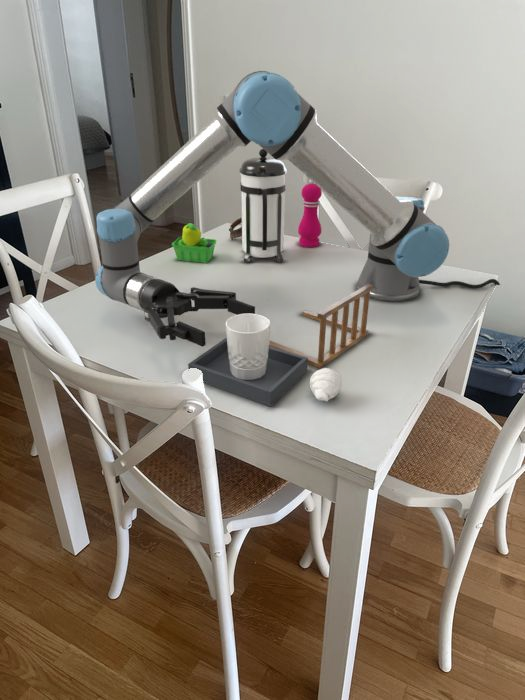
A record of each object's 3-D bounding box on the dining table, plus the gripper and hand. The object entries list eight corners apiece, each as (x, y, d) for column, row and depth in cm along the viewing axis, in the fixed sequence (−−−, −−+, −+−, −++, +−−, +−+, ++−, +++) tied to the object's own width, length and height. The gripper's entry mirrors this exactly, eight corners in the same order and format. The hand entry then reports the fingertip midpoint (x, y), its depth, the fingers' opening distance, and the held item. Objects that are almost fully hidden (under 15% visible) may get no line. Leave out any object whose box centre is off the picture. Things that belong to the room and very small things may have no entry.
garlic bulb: (305, 409, 91) (306, 382, 88) (310, 390, 96) (311, 364, 93) (337, 413, 90) (340, 386, 87) (340, 393, 95) (343, 367, 92)
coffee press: (224, 256, 157) (220, 148, 143) (264, 245, 167) (264, 142, 152) (264, 272, 146) (265, 157, 132) (304, 259, 156) (309, 150, 141)
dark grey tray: (307, 371, 101) (308, 357, 100) (270, 406, 91) (270, 392, 90) (230, 347, 109) (230, 334, 108) (188, 377, 99) (187, 363, 98)
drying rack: (305, 313, 124) (308, 266, 118) (368, 334, 115) (374, 285, 109) (254, 342, 111) (254, 292, 106) (319, 368, 102) (323, 315, 97)
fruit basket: (218, 256, 158) (216, 217, 152) (208, 266, 150) (206, 226, 145) (181, 253, 160) (178, 215, 155) (170, 263, 153) (167, 223, 147)
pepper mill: (324, 246, 166) (328, 180, 156) (302, 248, 164) (305, 181, 154) (315, 239, 172) (319, 175, 162) (294, 241, 170) (296, 176, 160)
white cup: (244, 356, 105) (243, 309, 100) (277, 368, 101) (278, 320, 96) (218, 373, 99) (216, 325, 94) (252, 387, 95) (252, 337, 90)
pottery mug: (263, 246, 167) (250, 225, 162) (236, 257, 171) (223, 237, 166) (265, 226, 176) (253, 205, 171) (240, 236, 179) (228, 217, 174)
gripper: (197, 294, 121) (271, 321, 109) (105, 334, 104) (181, 370, 92) (196, 262, 117) (272, 286, 105) (100, 298, 100) (178, 331, 88)
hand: (230, 325), depth 99 cm, fingers open, 13 cm apart
